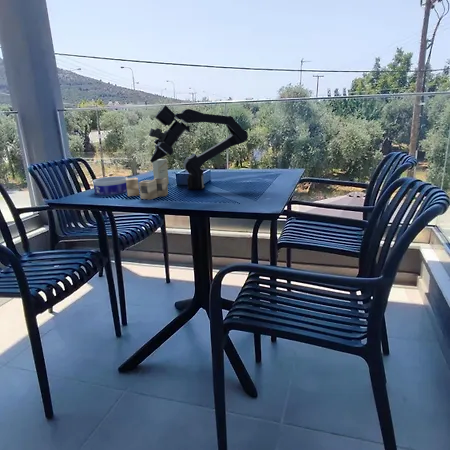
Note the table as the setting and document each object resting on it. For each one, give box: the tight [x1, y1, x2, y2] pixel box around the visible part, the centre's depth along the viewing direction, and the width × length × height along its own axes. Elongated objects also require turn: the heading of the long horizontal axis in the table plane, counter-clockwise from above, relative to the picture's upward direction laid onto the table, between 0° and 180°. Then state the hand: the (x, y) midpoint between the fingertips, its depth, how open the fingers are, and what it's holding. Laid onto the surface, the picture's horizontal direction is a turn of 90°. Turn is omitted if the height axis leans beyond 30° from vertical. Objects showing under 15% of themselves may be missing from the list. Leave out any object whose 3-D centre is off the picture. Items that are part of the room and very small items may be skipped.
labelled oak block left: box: [152, 178, 169, 197], centre depth 152 cm, size 5×5×7 cm
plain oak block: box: [126, 177, 140, 197], centre depth 155 cm, size 5×5×7 cm
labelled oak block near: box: [138, 179, 159, 200], centre depth 148 cm, size 5×5×7 cm
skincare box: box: [151, 158, 170, 185], centre depth 176 cm, size 6×4×12 cm
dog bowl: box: [92, 175, 128, 196], centre depth 165 cm, size 15×15×6 cm
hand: (151, 161), depth 155 cm, fingers closed
